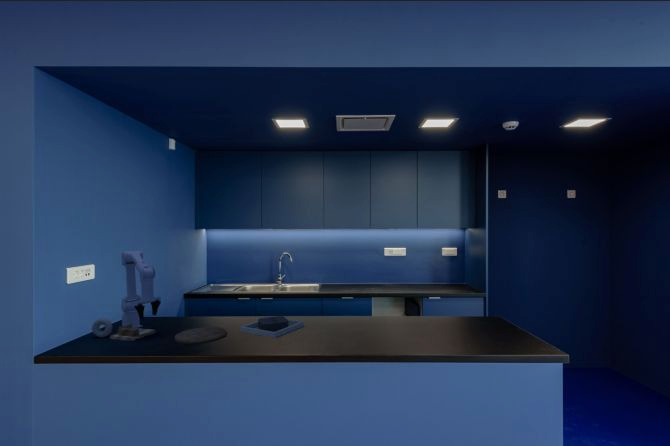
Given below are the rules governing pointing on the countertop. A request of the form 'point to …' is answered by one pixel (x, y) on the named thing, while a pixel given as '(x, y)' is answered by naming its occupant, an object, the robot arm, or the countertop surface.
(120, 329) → the stool leg
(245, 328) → the tray
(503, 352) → the countertop surface
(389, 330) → the countertop surface
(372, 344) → the countertop surface
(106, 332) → the donut
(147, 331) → the stool seat
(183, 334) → the trivet
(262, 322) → the streaming box
